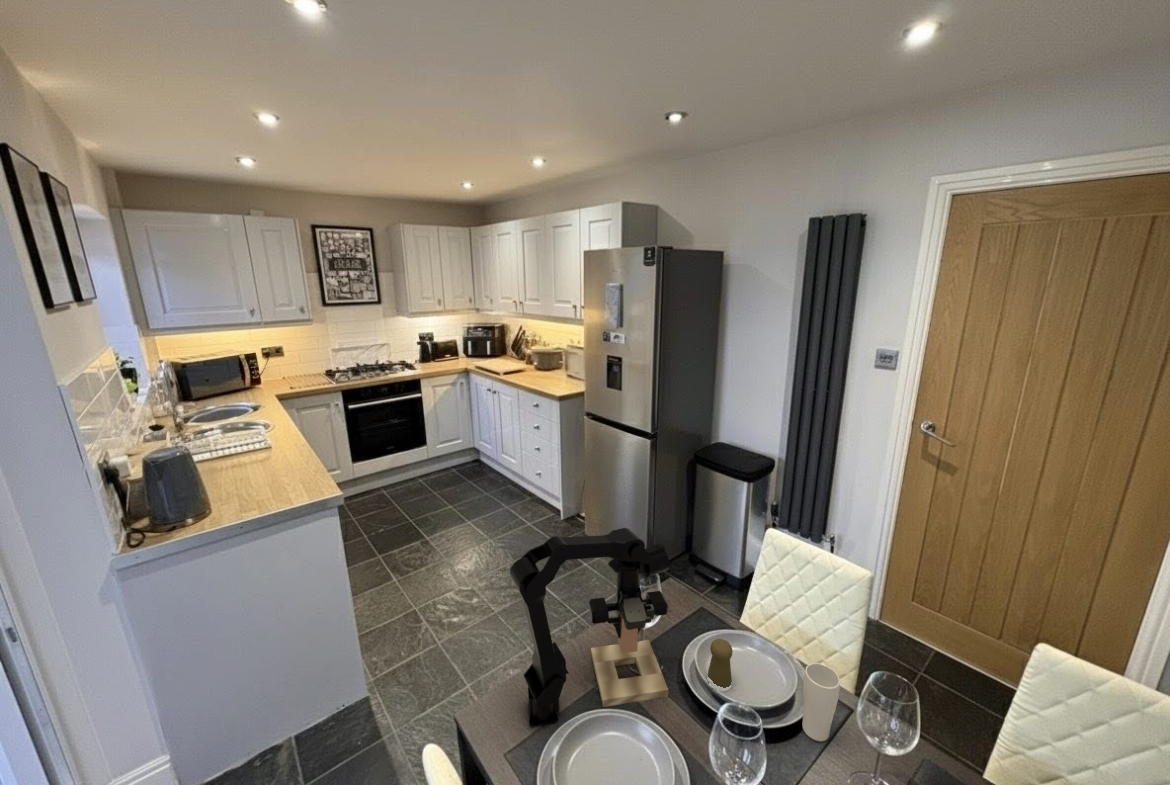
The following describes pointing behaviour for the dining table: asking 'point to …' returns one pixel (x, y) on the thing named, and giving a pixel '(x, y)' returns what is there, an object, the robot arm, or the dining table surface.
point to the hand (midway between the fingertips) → (627, 635)
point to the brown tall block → (627, 637)
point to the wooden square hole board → (628, 688)
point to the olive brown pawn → (720, 663)
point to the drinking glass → (819, 700)
